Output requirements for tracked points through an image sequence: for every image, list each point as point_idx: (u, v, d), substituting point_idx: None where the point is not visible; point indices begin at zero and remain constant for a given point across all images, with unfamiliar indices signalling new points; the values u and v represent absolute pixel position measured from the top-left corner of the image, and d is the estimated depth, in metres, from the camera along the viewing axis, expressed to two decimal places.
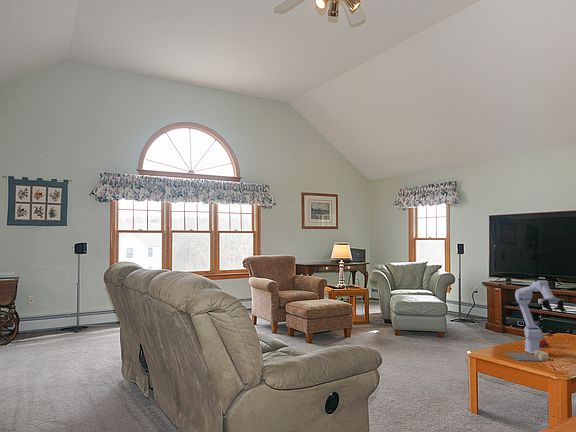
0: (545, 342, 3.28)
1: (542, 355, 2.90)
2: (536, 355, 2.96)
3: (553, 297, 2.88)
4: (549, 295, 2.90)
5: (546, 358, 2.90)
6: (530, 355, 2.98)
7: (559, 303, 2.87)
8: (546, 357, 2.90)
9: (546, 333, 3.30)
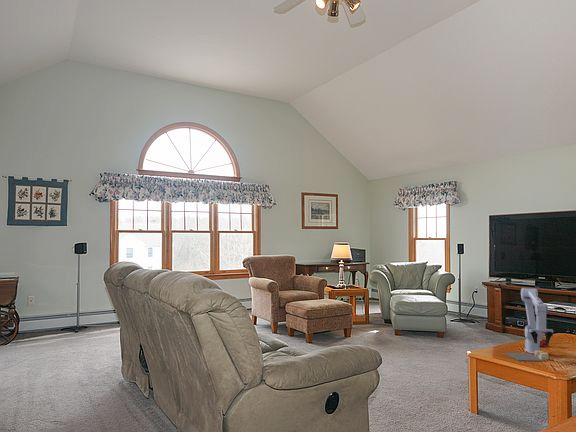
0: (545, 342, 3.28)
1: (542, 355, 2.90)
2: (536, 355, 2.96)
3: (544, 331, 2.92)
4: (541, 327, 2.93)
5: (546, 358, 2.90)
6: (530, 355, 2.98)
7: (547, 334, 2.94)
8: (546, 357, 2.90)
9: None
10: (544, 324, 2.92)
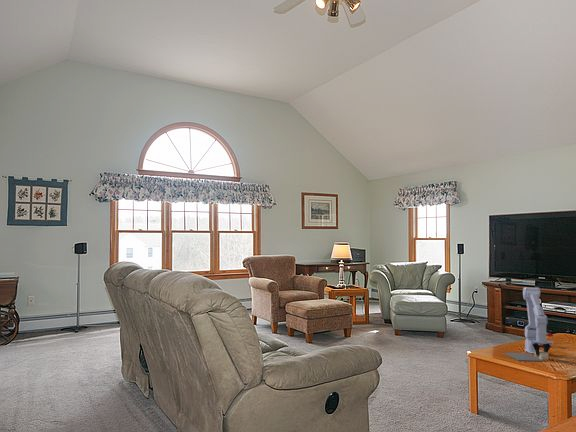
0: None
1: (542, 355, 2.90)
2: (536, 355, 2.96)
3: None
4: (541, 339, 2.92)
5: (546, 358, 2.90)
6: (530, 355, 2.98)
7: (545, 346, 2.94)
8: (546, 357, 2.90)
9: (546, 333, 3.30)
10: (544, 336, 2.92)
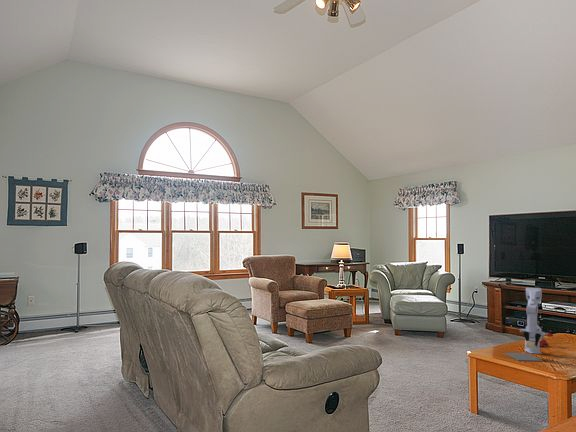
0: (545, 342, 3.28)
1: (527, 343, 2.93)
2: None
3: (530, 332, 2.93)
4: (529, 328, 2.94)
5: (531, 346, 2.91)
6: (530, 355, 2.98)
7: None
8: (532, 346, 2.91)
9: (546, 333, 3.30)
10: (531, 325, 2.93)
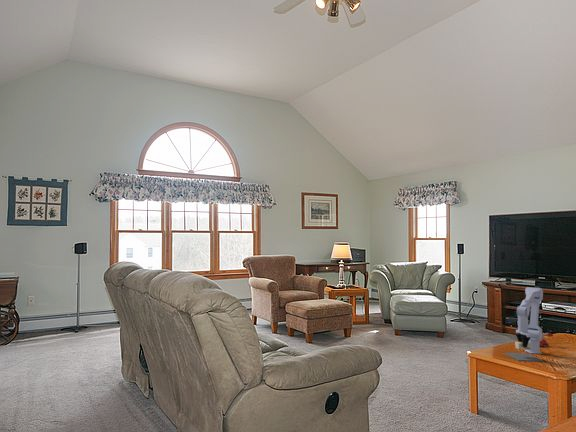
0: (545, 342, 3.28)
1: (515, 343, 2.96)
2: None
3: (518, 332, 2.95)
4: (518, 328, 2.96)
5: (517, 347, 2.93)
6: (530, 355, 2.98)
7: None
8: (517, 346, 2.93)
9: (546, 333, 3.30)
10: (519, 326, 2.95)
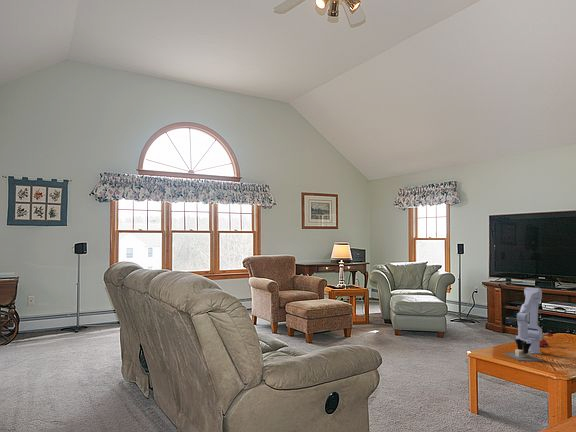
0: (545, 342, 3.28)
1: (515, 351, 2.96)
2: None
3: (518, 338, 2.95)
4: (518, 334, 2.96)
5: (517, 355, 2.93)
6: None
7: None
8: (517, 354, 2.93)
9: (546, 333, 3.30)
10: (519, 332, 2.94)
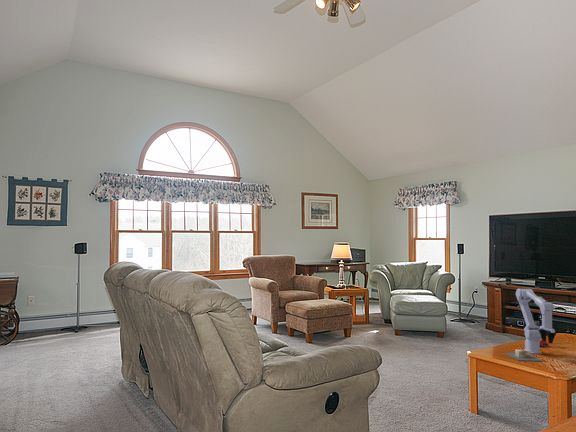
0: (545, 342, 3.28)
1: (515, 351, 2.96)
2: None
3: (542, 328, 2.96)
4: (542, 324, 2.97)
5: (517, 355, 2.93)
6: None
7: None
8: (517, 354, 2.93)
9: None
10: (543, 322, 2.95)
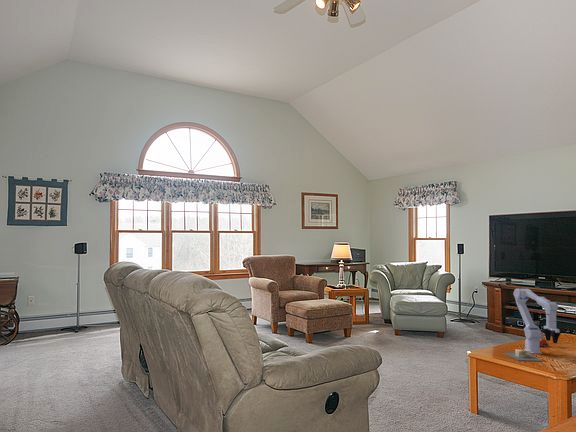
0: (545, 342, 3.28)
1: (515, 351, 2.96)
2: None
3: (546, 328, 2.96)
4: (546, 324, 2.97)
5: (517, 355, 2.93)
6: None
7: None
8: (517, 354, 2.93)
9: None
10: (547, 322, 2.96)
